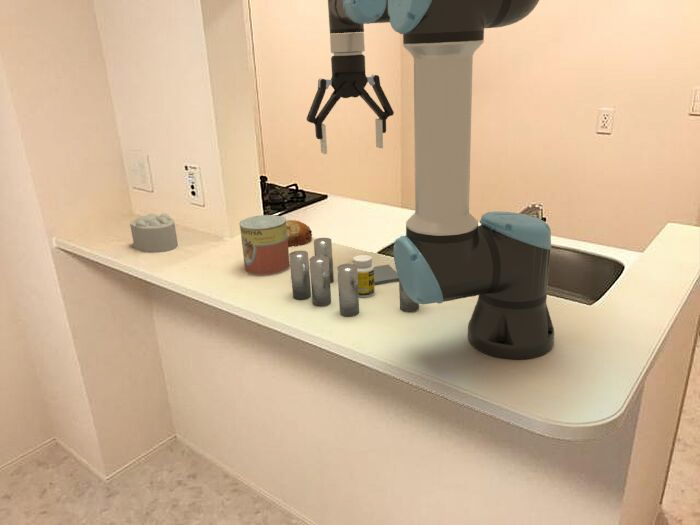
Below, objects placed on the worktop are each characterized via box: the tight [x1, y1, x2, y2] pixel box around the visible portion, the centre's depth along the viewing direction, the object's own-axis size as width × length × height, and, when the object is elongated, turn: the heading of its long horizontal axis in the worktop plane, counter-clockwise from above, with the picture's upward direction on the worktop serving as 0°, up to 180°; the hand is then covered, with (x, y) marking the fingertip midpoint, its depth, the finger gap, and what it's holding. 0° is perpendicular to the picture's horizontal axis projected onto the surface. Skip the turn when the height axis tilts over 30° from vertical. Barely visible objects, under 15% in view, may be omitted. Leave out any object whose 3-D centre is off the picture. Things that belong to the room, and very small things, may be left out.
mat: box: [373, 264, 399, 286], centre depth 140 cm, size 9×9×1 cm
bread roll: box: [286, 219, 313, 248], centre depth 167 cm, size 10×10×8 cm
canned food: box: [238, 214, 291, 277], centre depth 147 cm, size 11×11×12 cm
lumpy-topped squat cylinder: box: [129, 213, 179, 254], centre depth 168 cm, size 10×13×9 cm
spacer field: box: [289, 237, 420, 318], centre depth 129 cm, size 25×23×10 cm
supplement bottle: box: [352, 254, 375, 298], centre depth 130 cm, size 5×5×8 cm
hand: (352, 150), depth 140 cm, fingers open, 13 cm apart
